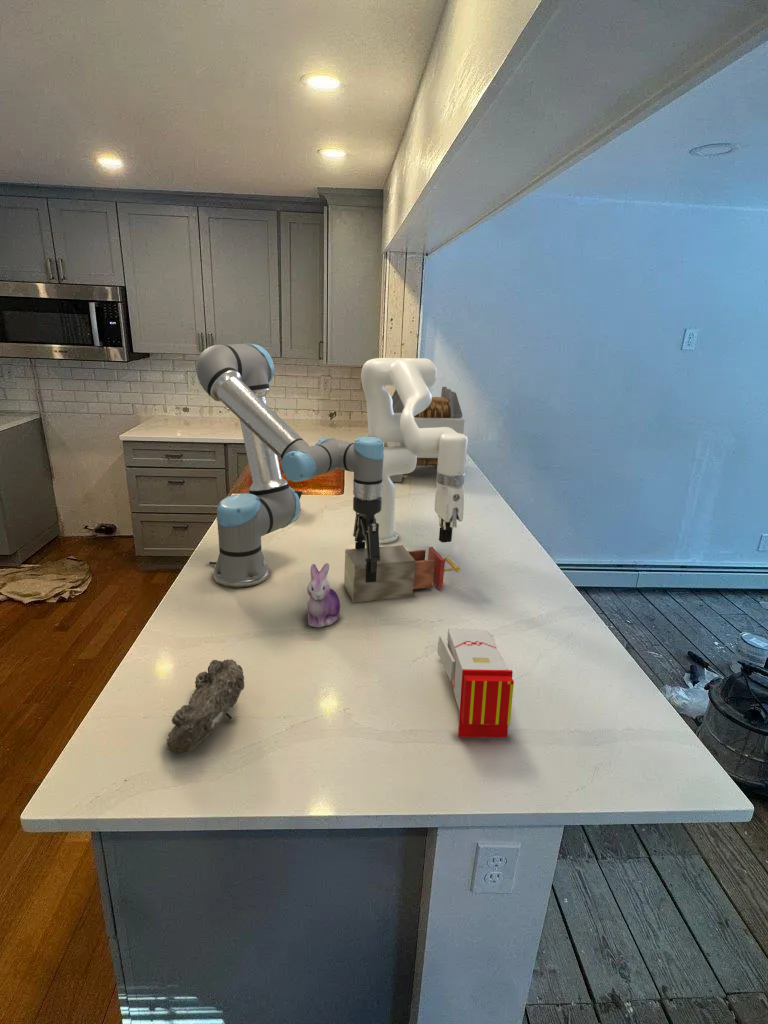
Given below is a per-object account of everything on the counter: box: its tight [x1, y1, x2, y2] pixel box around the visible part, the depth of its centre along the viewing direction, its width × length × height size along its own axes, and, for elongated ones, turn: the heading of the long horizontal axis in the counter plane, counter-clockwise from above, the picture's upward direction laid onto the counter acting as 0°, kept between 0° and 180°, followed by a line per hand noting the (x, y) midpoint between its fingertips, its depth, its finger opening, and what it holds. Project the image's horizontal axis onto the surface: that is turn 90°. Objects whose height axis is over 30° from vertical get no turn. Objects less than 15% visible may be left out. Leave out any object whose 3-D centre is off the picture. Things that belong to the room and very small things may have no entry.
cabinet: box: [343, 544, 415, 603], centre depth 157 cm, size 17×11×11 cm, turn 107°
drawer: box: [407, 546, 461, 590], centre depth 161 cm, size 21×10×9 cm, turn 107°
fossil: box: [166, 658, 245, 754], centre depth 106 cm, size 22×10×15 cm
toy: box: [437, 628, 515, 738], centre depth 117 cm, size 12×13×30 cm
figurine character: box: [294, 490, 303, 511], centre depth 212 cm, size 7×8×15 cm
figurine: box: [306, 562, 341, 628], centre depth 141 cm, size 9×10×15 cm
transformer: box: [383, 386, 465, 483], centre depth 268 cm, size 34×33×41 cm
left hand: (365, 572), depth 156 cm, fingers closed on cabinet, 11 cm apart
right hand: (445, 540), depth 160 cm, fingers closed
